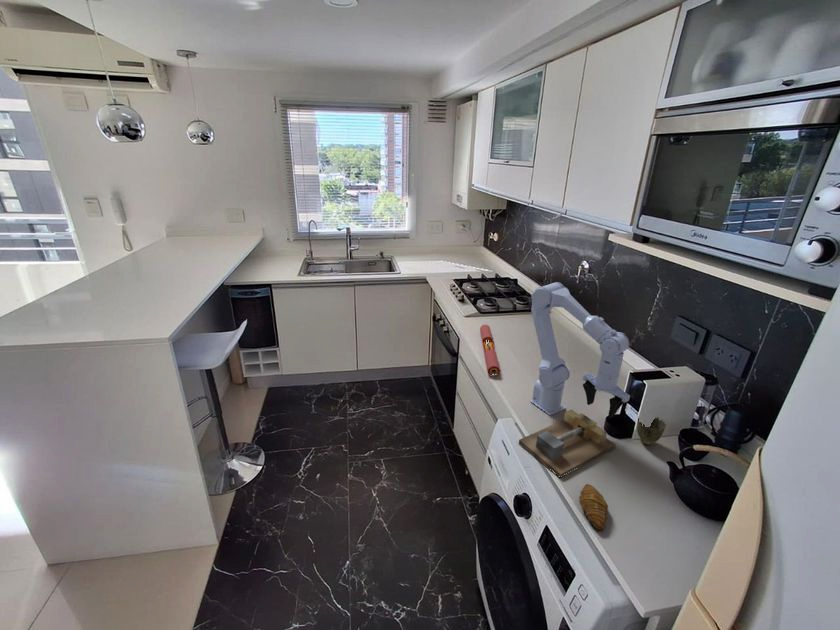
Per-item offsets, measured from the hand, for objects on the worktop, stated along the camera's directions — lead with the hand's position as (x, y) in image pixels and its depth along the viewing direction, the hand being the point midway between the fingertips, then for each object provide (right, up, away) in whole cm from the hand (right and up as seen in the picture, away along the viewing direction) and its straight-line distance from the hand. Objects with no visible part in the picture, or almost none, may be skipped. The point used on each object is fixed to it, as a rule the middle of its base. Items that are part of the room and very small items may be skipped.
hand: (600, 409), depth 122 cm
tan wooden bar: (-6, -7, -1) cm, 9 cm away
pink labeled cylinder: (-26, +12, +54) cm, 61 cm away
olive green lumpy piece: (+14, -10, -1) cm, 17 cm away
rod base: (-12, -10, -3) cm, 16 cm away
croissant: (-13, -19, -24) cm, 34 cm away
